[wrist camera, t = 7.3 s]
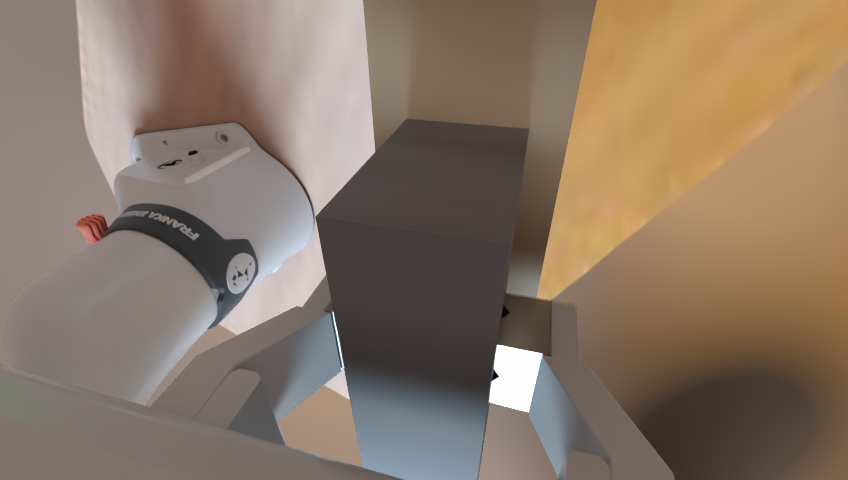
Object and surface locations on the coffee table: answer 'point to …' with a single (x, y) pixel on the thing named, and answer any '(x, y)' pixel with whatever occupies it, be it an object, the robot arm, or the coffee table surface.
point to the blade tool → (447, 215)
